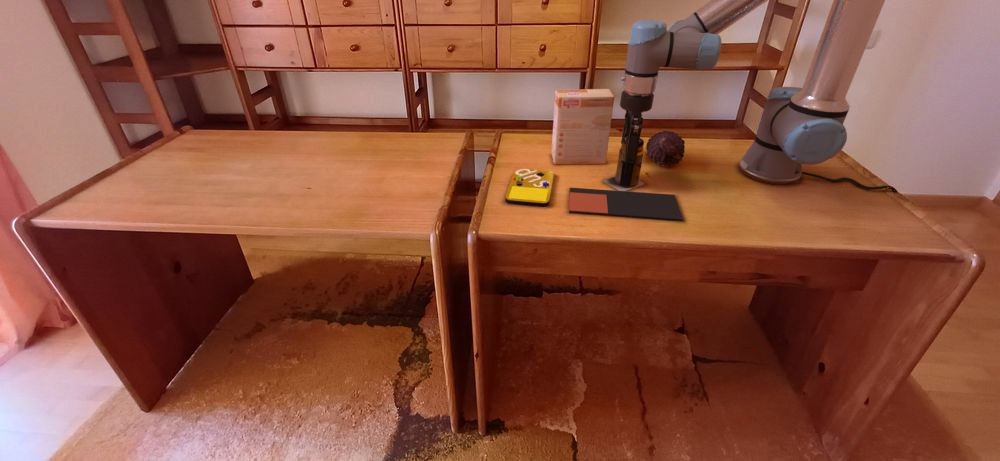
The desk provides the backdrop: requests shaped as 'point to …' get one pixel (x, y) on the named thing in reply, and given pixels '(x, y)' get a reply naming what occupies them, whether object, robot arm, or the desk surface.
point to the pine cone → (666, 148)
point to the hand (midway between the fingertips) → (623, 178)
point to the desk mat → (624, 204)
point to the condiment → (636, 169)
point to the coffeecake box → (581, 126)
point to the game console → (530, 188)
